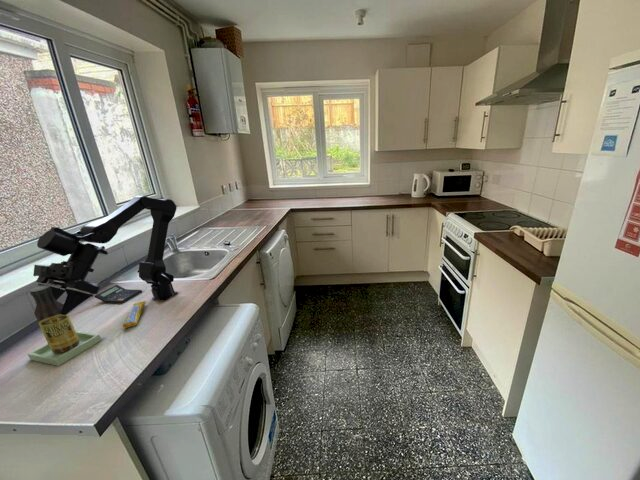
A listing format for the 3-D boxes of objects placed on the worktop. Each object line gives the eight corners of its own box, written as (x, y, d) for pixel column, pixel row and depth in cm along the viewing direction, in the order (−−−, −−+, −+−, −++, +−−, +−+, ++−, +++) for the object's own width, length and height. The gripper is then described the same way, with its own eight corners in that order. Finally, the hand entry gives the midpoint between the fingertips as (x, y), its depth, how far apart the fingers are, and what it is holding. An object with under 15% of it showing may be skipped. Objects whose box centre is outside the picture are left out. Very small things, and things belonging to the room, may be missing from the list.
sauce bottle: (54, 357, 82) (20, 296, 74) (51, 349, 85) (19, 290, 78) (84, 345, 86) (54, 287, 78) (80, 338, 90) (52, 281, 82)
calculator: (122, 303, 111) (119, 296, 110) (96, 302, 113) (93, 295, 111) (142, 291, 119) (139, 285, 118) (118, 290, 121) (115, 284, 120)
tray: (75, 335, 92) (73, 330, 92) (101, 339, 89) (99, 334, 89) (30, 359, 82) (27, 354, 81) (58, 366, 79) (55, 360, 78)
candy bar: (137, 327, 95) (135, 322, 94) (122, 330, 93) (120, 325, 93) (147, 303, 109) (145, 299, 109) (134, 306, 108) (132, 302, 107)
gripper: (29, 249, 83) (-4, 301, 78) (69, 253, 77) (37, 310, 72) (72, 263, 93) (46, 310, 87) (111, 268, 87) (85, 319, 81)
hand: (52, 312), depth 82 cm, fingers open, 9 cm apart
